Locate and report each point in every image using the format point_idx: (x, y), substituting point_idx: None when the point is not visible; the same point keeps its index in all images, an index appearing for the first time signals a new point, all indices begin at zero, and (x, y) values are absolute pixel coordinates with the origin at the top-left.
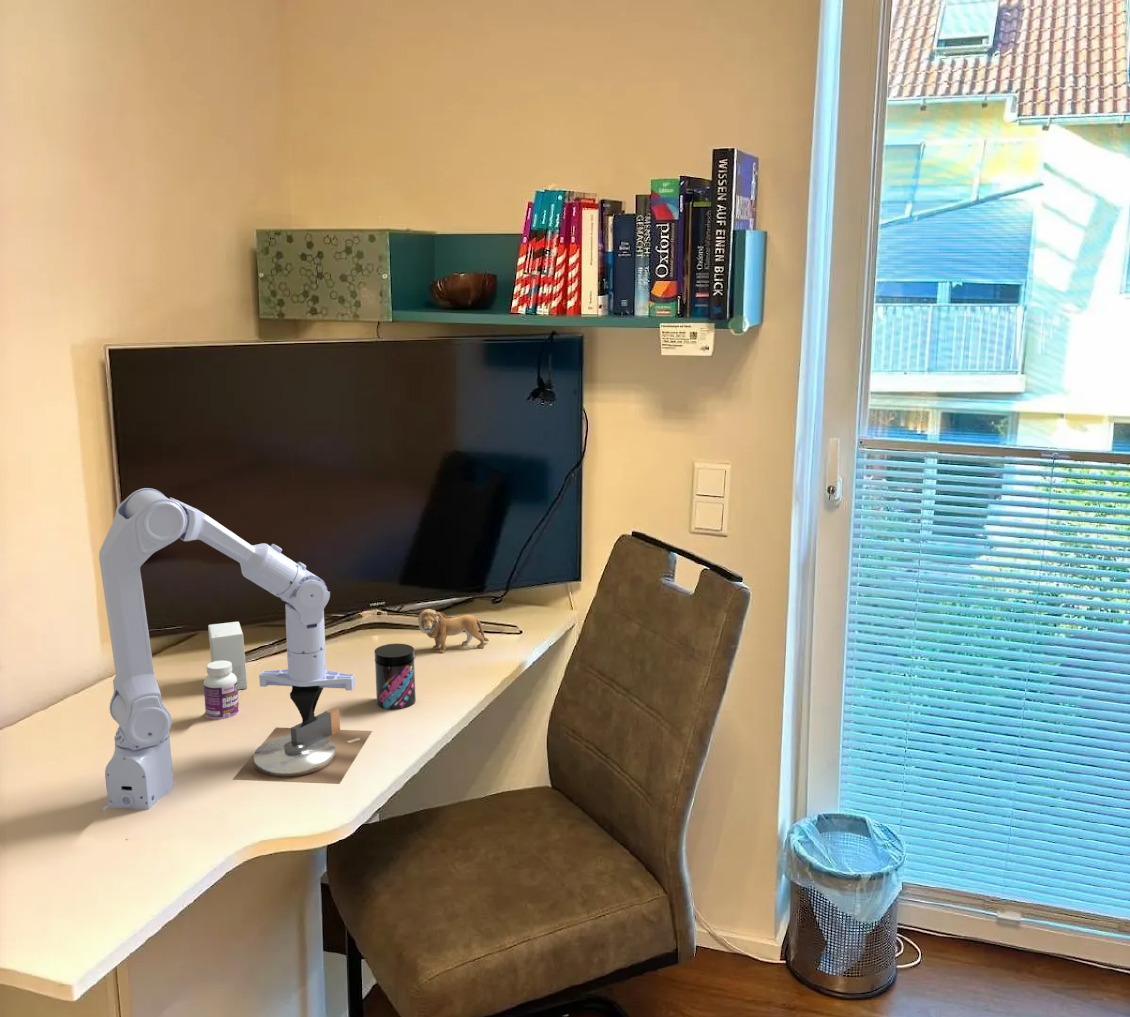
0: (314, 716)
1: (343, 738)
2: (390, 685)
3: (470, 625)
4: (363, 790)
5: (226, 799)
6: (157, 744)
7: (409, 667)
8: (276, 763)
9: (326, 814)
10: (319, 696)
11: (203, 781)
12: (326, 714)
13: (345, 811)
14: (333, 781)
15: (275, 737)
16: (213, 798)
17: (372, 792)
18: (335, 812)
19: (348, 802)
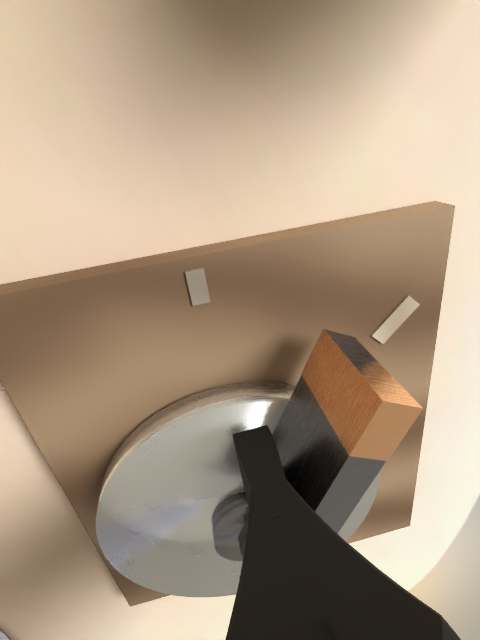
0: (279, 456)
1: (348, 312)
2: None
3: None
4: (452, 492)
5: (161, 616)
6: None
7: None
8: (231, 576)
9: (394, 571)
10: (365, 558)
11: (34, 601)
12: (368, 477)
13: (428, 553)
14: (393, 525)
15: (50, 392)
16: (128, 625)
17: (472, 491)
18: (410, 562)
19: (428, 533)
